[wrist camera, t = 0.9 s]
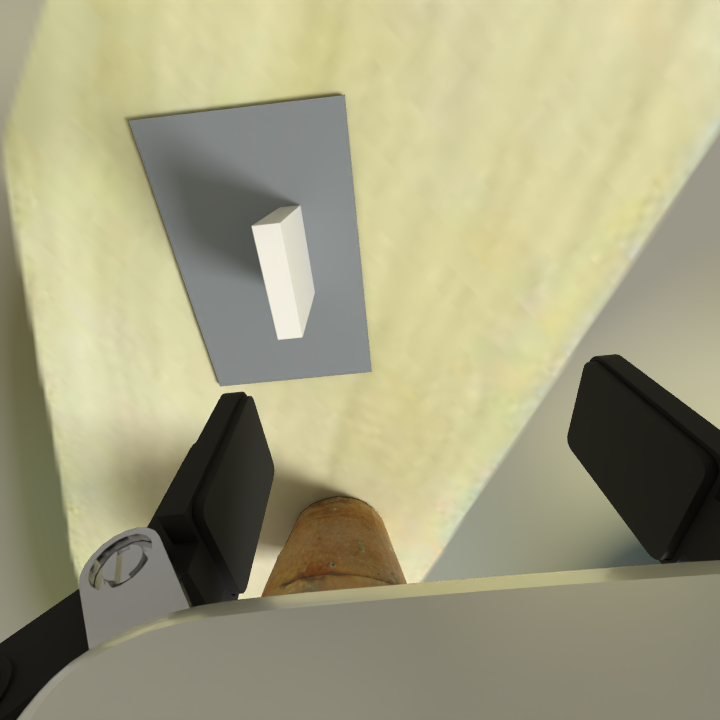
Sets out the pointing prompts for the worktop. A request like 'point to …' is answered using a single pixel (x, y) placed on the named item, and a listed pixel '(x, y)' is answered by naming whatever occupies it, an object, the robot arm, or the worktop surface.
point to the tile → (285, 269)
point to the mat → (235, 236)
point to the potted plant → (335, 551)
